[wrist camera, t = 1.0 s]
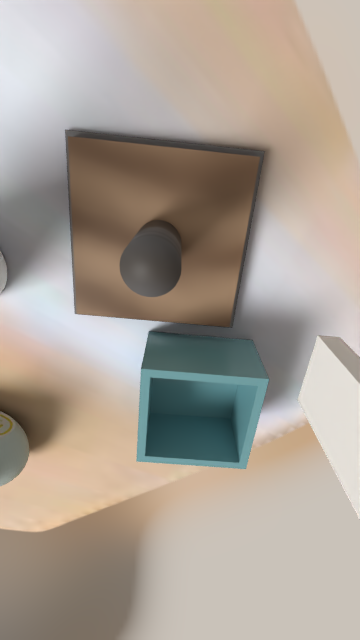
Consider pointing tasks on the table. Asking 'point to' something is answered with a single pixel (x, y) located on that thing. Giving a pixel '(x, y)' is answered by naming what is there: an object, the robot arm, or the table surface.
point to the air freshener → (12, 448)
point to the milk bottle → (2, 273)
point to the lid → (158, 230)
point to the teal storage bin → (199, 400)
